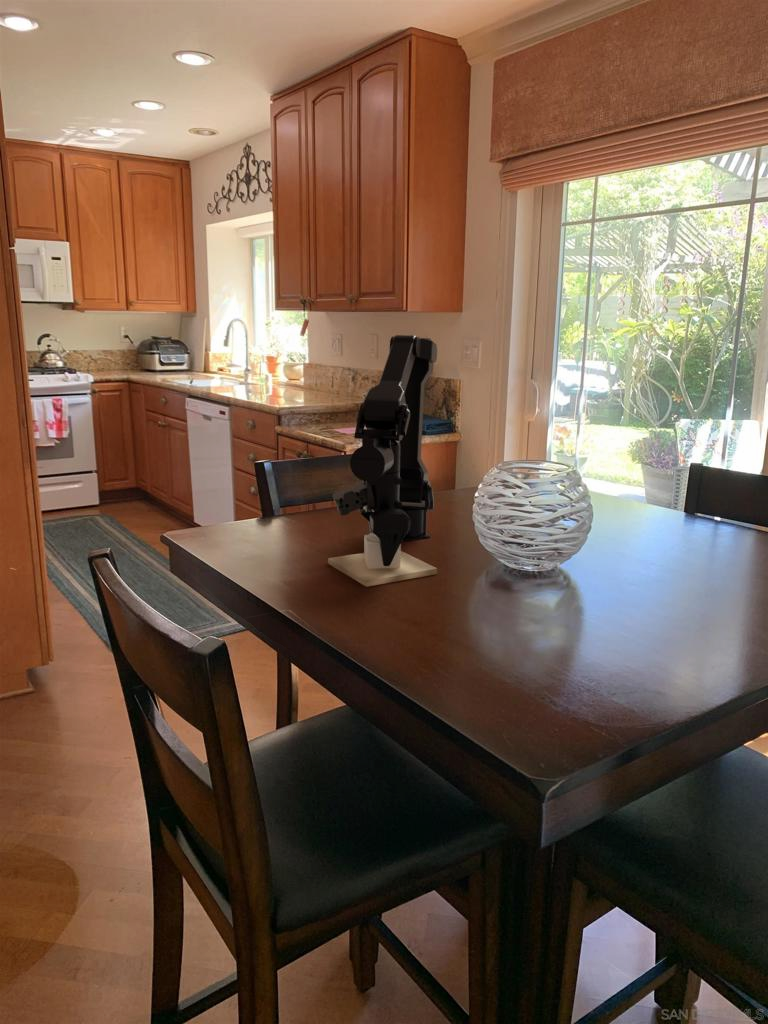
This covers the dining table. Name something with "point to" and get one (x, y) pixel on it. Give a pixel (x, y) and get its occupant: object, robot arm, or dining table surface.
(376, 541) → the white domed square block
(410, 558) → the stud plate
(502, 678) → the dining table surface
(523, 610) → the dining table surface
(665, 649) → the dining table surface
